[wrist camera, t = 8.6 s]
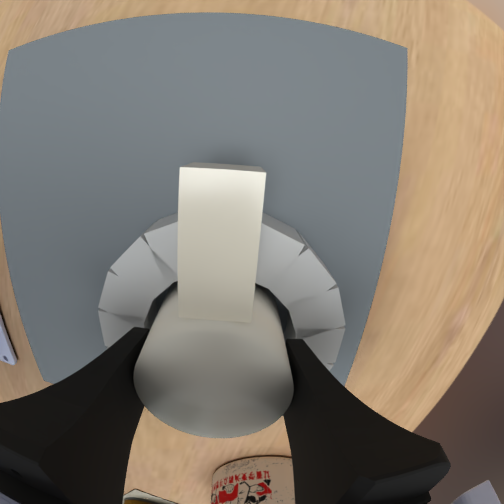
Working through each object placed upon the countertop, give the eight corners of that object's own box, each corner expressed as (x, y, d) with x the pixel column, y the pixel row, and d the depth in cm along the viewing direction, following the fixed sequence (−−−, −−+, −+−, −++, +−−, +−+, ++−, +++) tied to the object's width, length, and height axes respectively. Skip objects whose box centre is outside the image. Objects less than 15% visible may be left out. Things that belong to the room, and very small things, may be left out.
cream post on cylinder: (270, 358, 14) (280, 439, 9) (168, 350, 14) (145, 429, 9) (296, 166, 11) (334, 182, 6) (165, 157, 11) (112, 168, 6)
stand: (49, 371, 16) (31, 399, 13) (19, 53, 9) (-16, 44, 6) (329, 402, 17) (340, 437, 14) (397, 53, 10) (431, 37, 7)
